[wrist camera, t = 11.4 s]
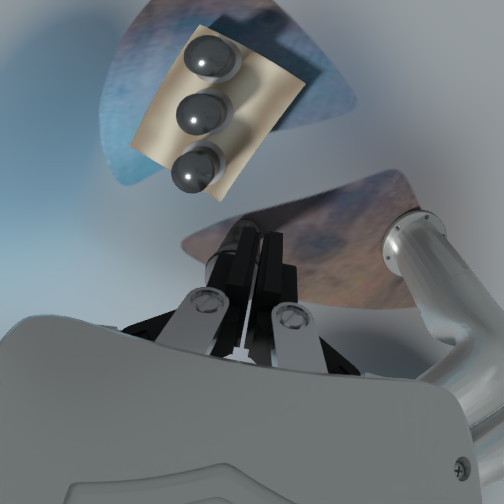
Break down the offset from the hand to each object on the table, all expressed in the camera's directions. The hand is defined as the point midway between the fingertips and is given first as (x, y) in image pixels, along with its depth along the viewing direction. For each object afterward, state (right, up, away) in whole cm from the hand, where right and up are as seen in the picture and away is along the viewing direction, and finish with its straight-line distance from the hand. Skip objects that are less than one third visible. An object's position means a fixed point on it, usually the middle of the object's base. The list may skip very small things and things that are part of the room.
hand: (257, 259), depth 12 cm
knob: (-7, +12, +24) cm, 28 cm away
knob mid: (-6, +18, +20) cm, 28 cm away
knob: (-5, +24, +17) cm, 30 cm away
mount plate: (-5, +20, +23) cm, 31 cm away
